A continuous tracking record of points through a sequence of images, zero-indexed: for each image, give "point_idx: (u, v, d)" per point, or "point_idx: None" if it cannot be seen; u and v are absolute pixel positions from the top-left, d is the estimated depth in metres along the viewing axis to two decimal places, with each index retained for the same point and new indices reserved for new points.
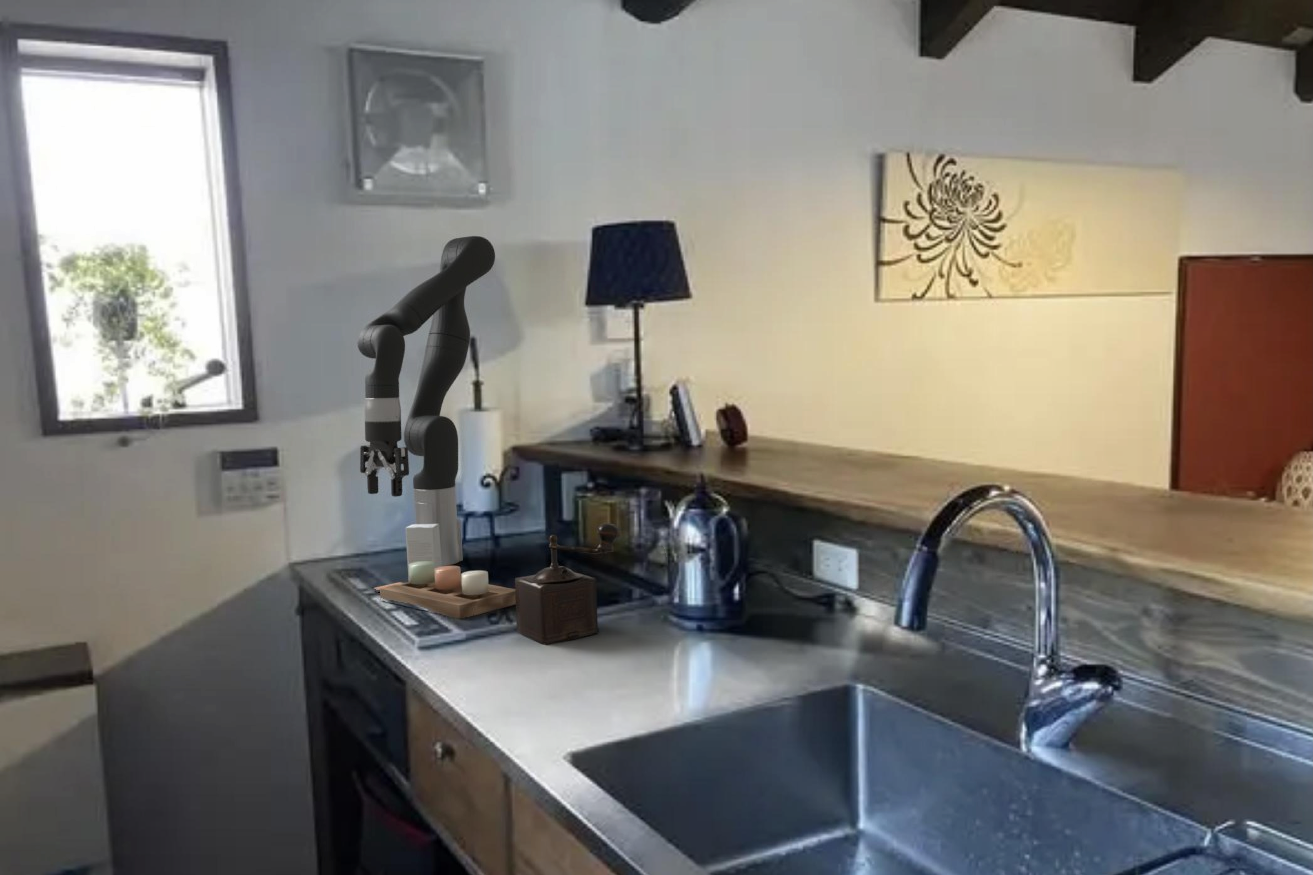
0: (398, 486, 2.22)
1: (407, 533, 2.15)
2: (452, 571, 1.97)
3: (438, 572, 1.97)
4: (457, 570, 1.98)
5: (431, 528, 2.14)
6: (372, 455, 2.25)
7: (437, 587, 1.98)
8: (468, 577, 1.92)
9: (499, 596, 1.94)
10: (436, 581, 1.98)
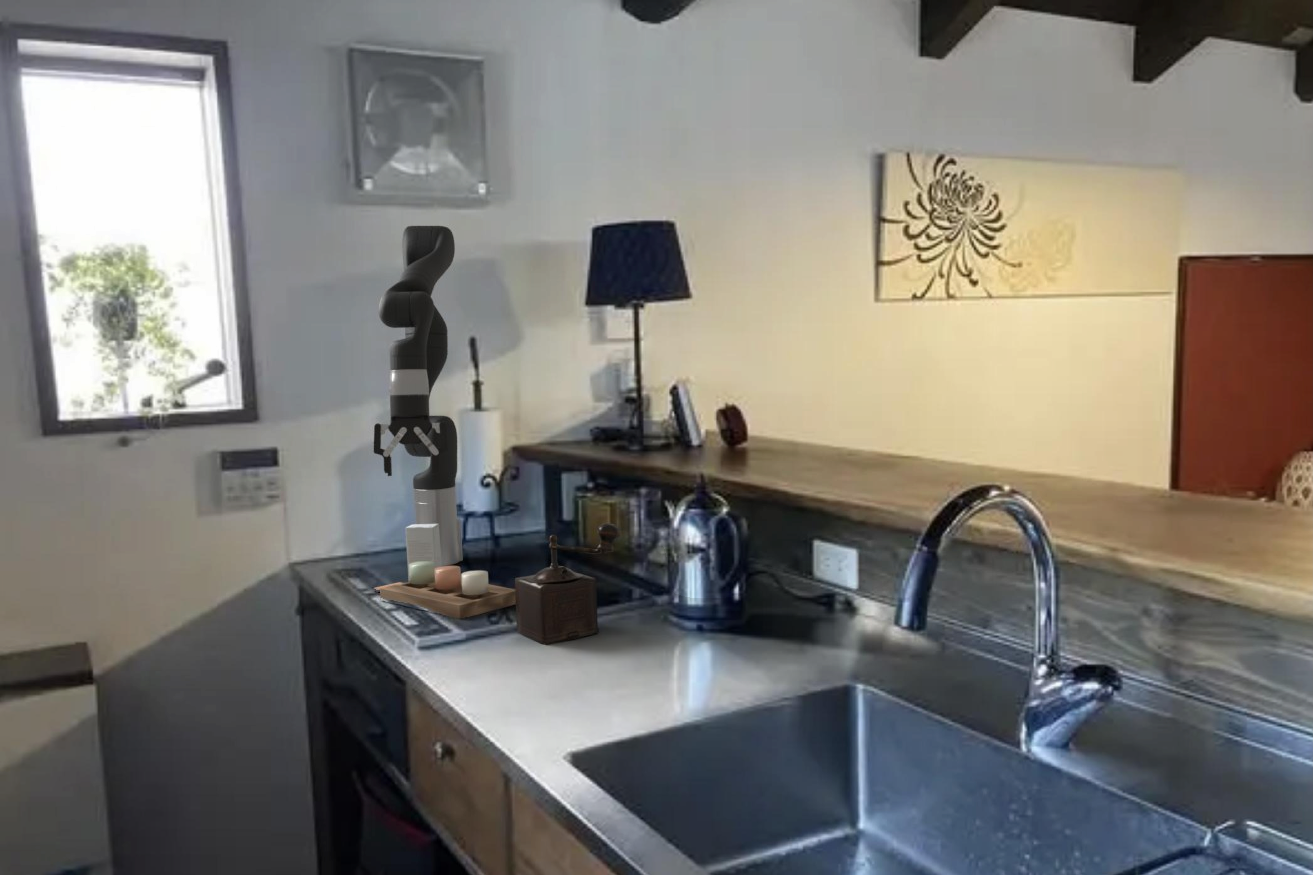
0: (438, 463, 2.10)
1: (407, 533, 2.15)
2: (452, 571, 1.97)
3: (438, 572, 1.97)
4: (457, 570, 1.98)
5: (431, 528, 2.14)
6: (403, 432, 2.07)
7: (437, 587, 1.98)
8: (468, 577, 1.92)
9: (499, 596, 1.94)
10: (436, 581, 1.98)
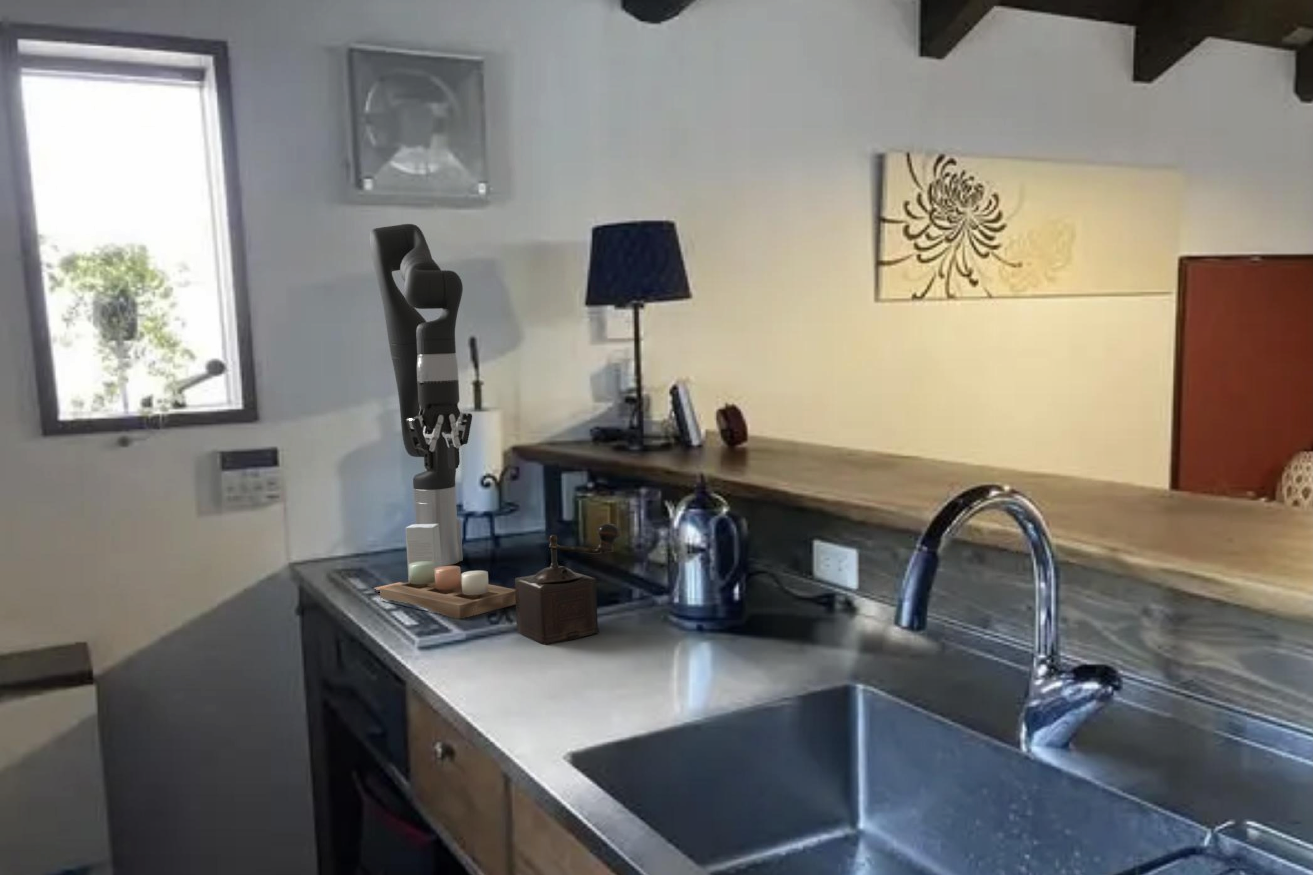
0: None
1: (407, 533, 2.15)
2: (452, 571, 1.97)
3: (438, 572, 1.97)
4: (457, 570, 1.98)
5: (431, 528, 2.14)
6: (441, 420, 1.95)
7: (437, 587, 1.98)
8: (468, 577, 1.92)
9: (499, 596, 1.94)
10: (436, 581, 1.98)
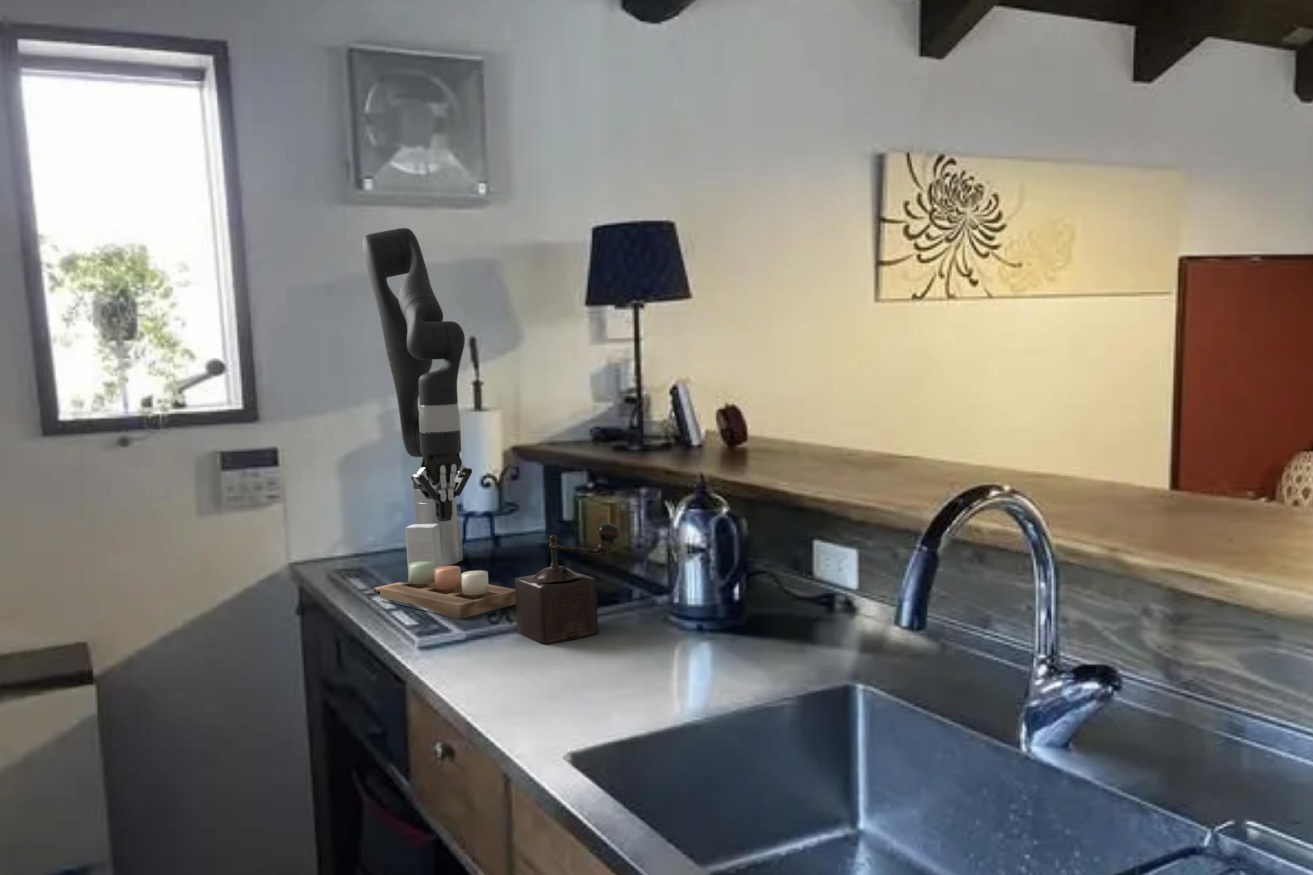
0: None
1: (407, 533, 2.15)
2: (452, 571, 1.97)
3: (438, 572, 1.97)
4: (457, 570, 1.98)
5: (431, 528, 2.14)
6: (443, 470, 1.96)
7: (437, 587, 1.98)
8: (468, 577, 1.92)
9: (499, 596, 1.94)
10: (436, 581, 1.98)
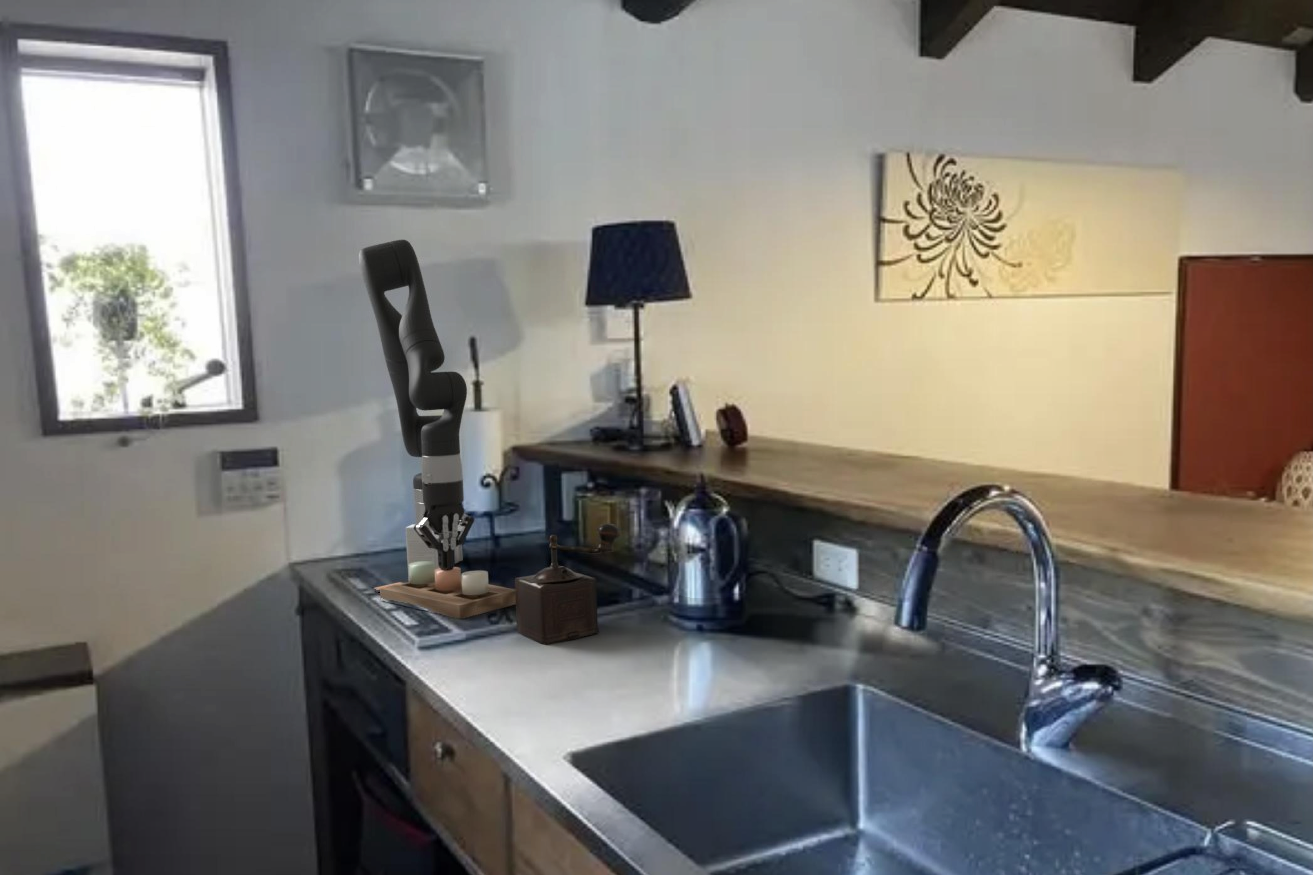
0: None
1: (407, 533, 2.15)
2: (452, 572, 1.97)
3: (438, 573, 1.97)
4: (457, 571, 1.98)
5: None
6: (446, 520, 1.96)
7: (437, 588, 1.98)
8: (468, 577, 1.92)
9: (499, 596, 1.94)
10: (436, 582, 1.98)
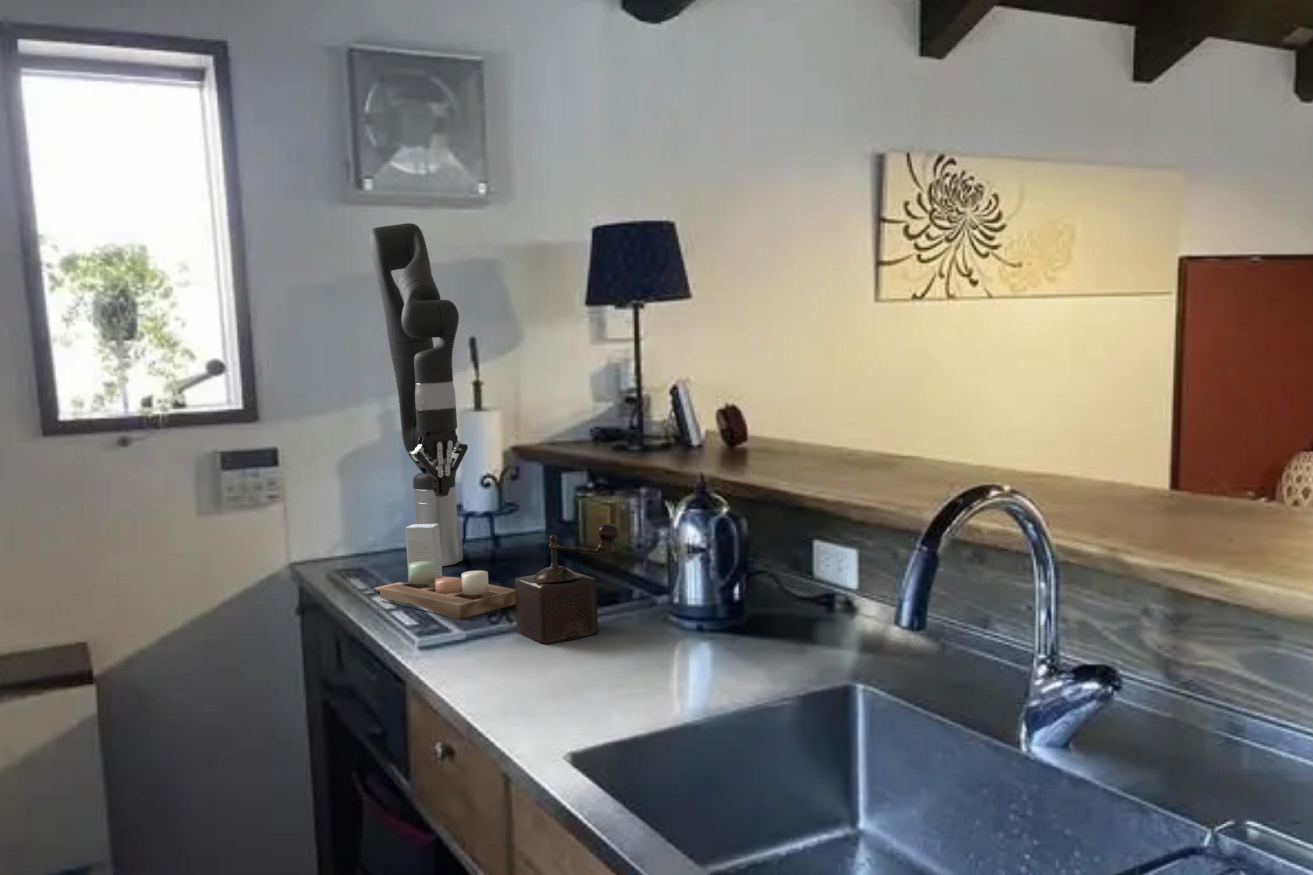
0: None
1: (407, 533, 2.15)
2: (453, 582, 1.98)
3: (439, 583, 1.98)
4: (458, 581, 1.98)
5: (431, 528, 2.14)
6: (440, 446, 1.99)
7: None
8: (468, 577, 1.92)
9: (499, 596, 1.94)
10: (437, 592, 1.98)
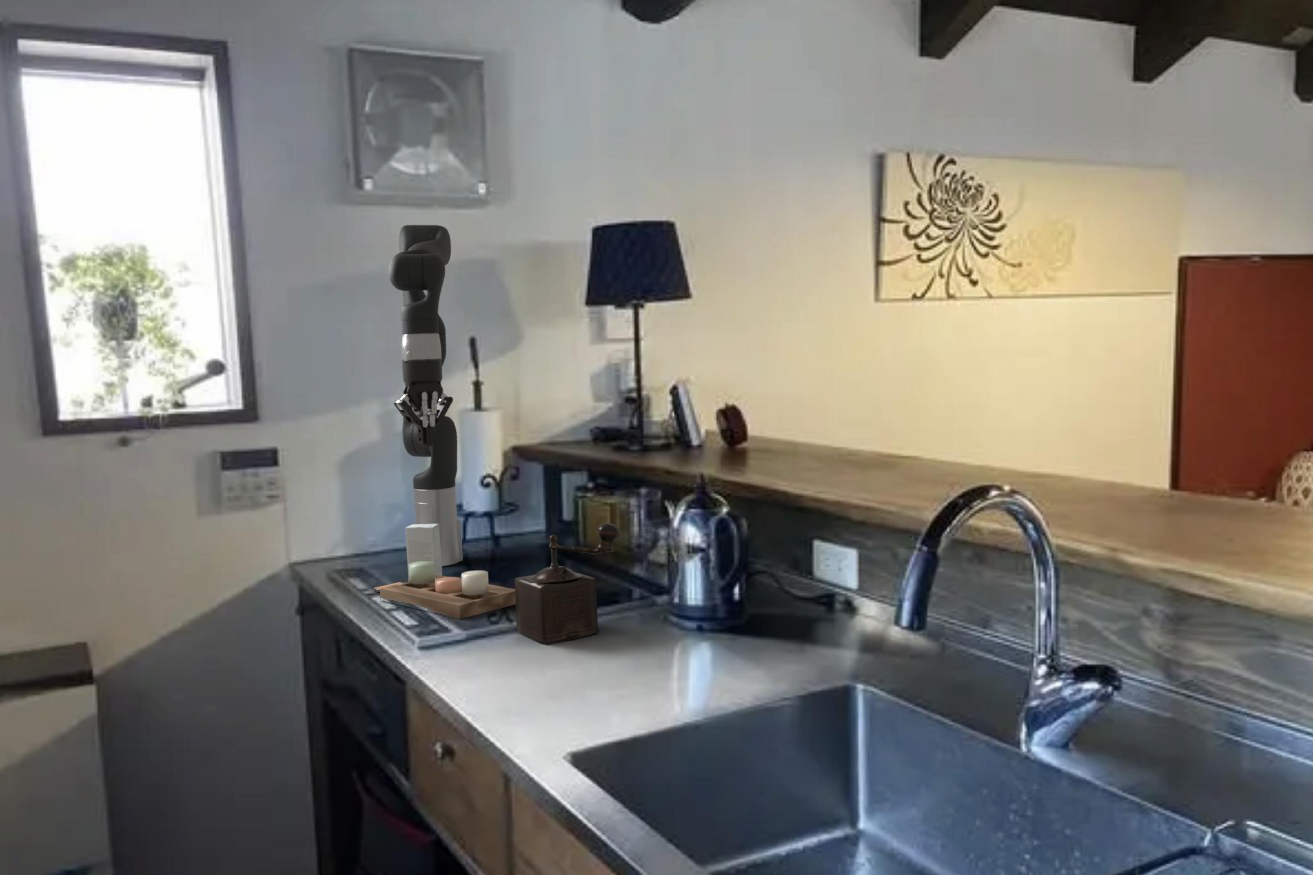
0: None
1: (407, 533, 2.15)
2: (453, 582, 1.98)
3: (439, 583, 1.98)
4: (458, 581, 1.98)
5: (431, 528, 2.14)
6: (425, 396, 2.04)
7: None
8: (468, 577, 1.92)
9: (499, 596, 1.94)
10: (437, 592, 1.98)
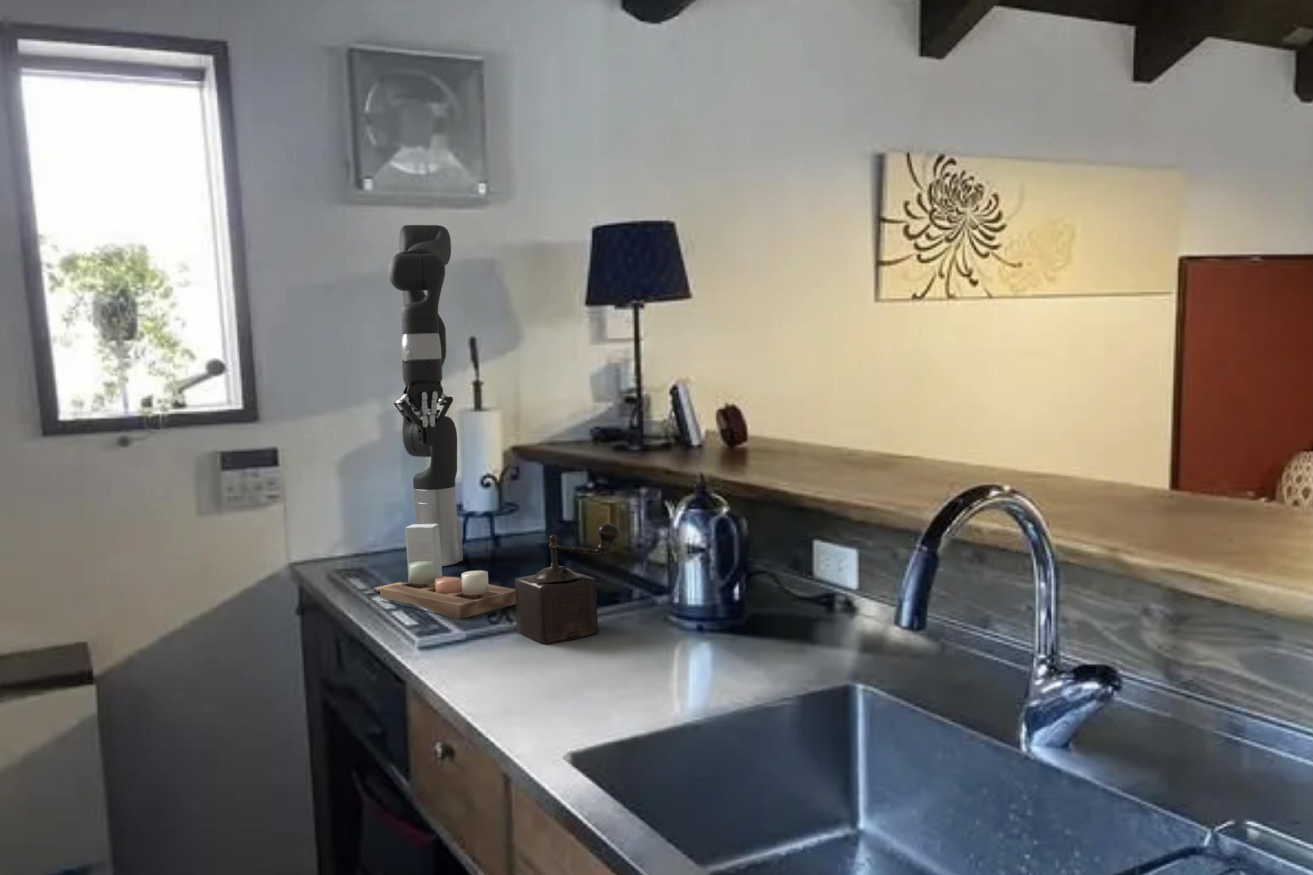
0: None
1: (407, 533, 2.15)
2: (453, 582, 1.98)
3: (439, 583, 1.98)
4: (458, 581, 1.98)
5: (431, 528, 2.14)
6: (425, 396, 2.04)
7: None
8: (468, 577, 1.92)
9: (499, 596, 1.94)
10: (437, 592, 1.98)
